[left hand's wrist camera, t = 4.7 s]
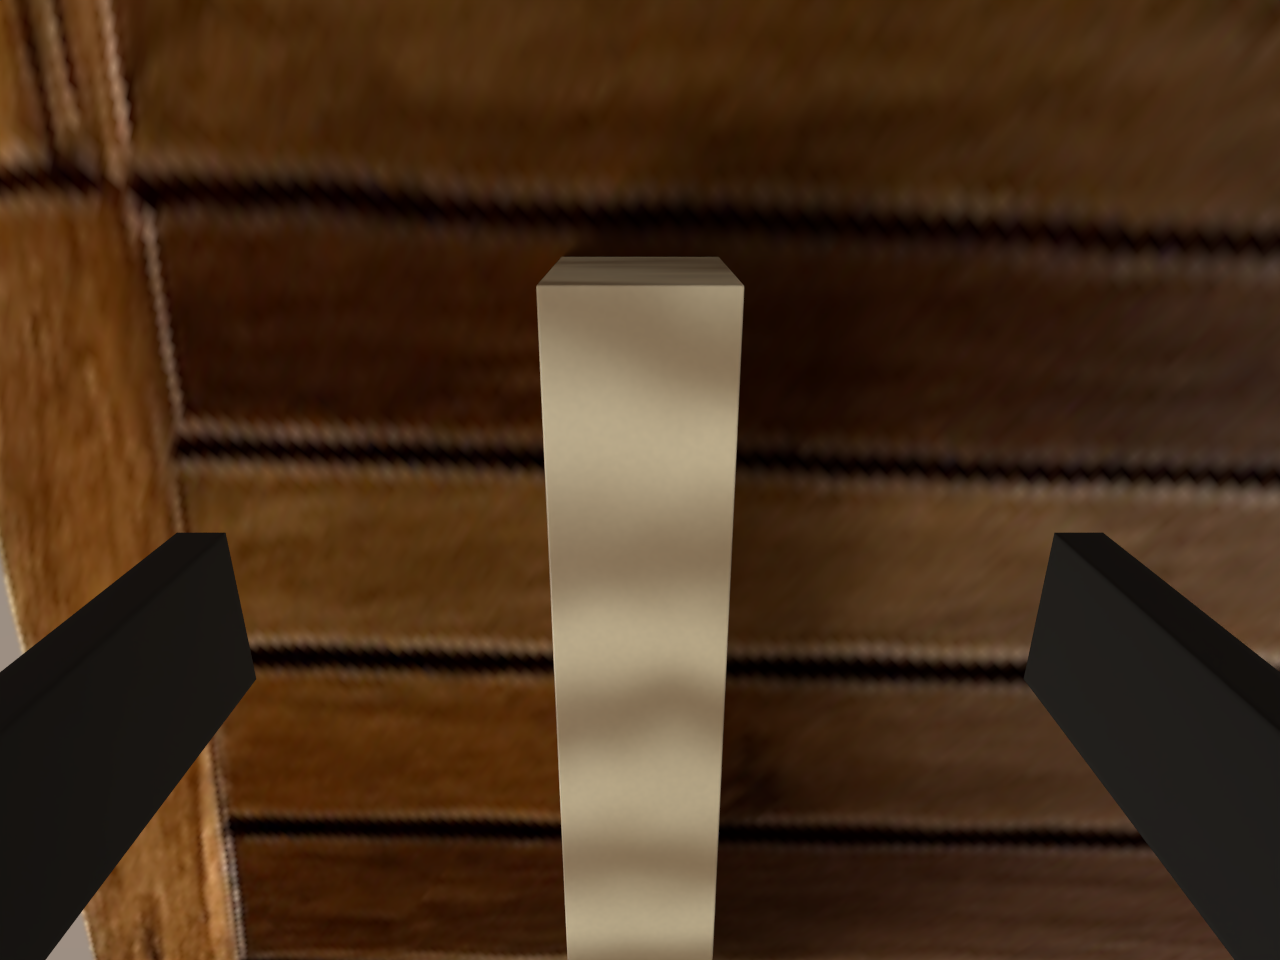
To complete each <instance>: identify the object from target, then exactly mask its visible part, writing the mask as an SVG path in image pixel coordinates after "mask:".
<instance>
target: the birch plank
mask: <svg viewBox="0 0 1280 960" xmlns="http://www.w3.org/2000/svg"><path fill="white" fill-rule="evenodd" d="M536 292H537V313H538V335H539V356H540V378H541V399H542V421H543V442H544V464H545V485H546V506H547V528H548V549H549V571H550V592H551V614H552V635H553V657H554V678H555V700H556V721H557V743H558V764H559V785H560V807H561V828H562V850H563V871H564V893H565V914H566V936H567V957H568V960H713V940H714V919H715V898H716V876H717V855H718V834H719V813H720V792H721V770H722V749H723V728H724V707H725V686H726V664H727V643H728V622H729V601H730V579H731V558H732V537H733V516H734V495H735V473H736V452H737V431H738V410H739V389H740V367H741V346H742V325H743V304H744V285H743V284H742V283H741V282H740V281H739V280H738V278H737V277H736V276H735V275H734V274H733V273H732V272H731V270H730V269H729V268H728V267H727V266H726V265H725V264H724V262H723V261H722V260H721V259H720V258H719V257H561V258H560V260H559V261H558V262H557V263H556V264H555V265H554V266H553V268H552V269H551V270H550V271H549V272H548V273H547V274H546V276H545V277H544V278H543V279H542V280H541V281H540V282H539V284H538V285H537V286H536Z"/></svg>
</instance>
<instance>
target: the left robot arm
mask: <svg viewBox="0 0 1280 960" xmlns="http://www.w3.org/2000/svg"><path fill="white" fill-rule="evenodd" d="M255 680H256V676H255V671H254V666H253V661H252V657H251V652H250V647H249V642H248V638H247V633H246V628H245V623H244V619H243V614H242V609H241V604H240V600H239V595H238V590H237V585H236V581H235V576H234V571H233V566H232V562H231V557H230V552H229V547H228V543H227V538H226V533H176V534H175V535H174V536H172V537H171V538H170V539H169V540H167V541H166V542H165V543H163V544H162V545H161V546H160V547H158V548H157V549H156V550H155V551H153V552H152V553H151V554H150V555H148V556H147V557H146V558H144V559H143V560H142V561H141V562H139V563H138V564H137V565H136V566H134V567H133V568H132V569H131V570H129V571H128V572H127V573H125V574H124V575H123V576H122V577H120V578H119V579H118V580H117V581H115V582H114V583H113V584H112V585H110V586H109V587H108V588H106V589H105V590H104V591H103V592H101V593H100V594H99V595H98V596H96V597H95V598H94V599H93V600H91V601H90V602H89V603H87V604H86V605H85V606H84V607H82V608H81V609H80V610H79V611H77V612H76V613H75V614H73V615H72V616H71V617H70V618H68V619H67V620H66V621H65V622H63V623H62V624H61V625H60V626H58V627H57V628H56V629H54V630H53V631H52V632H51V633H49V634H48V635H47V636H46V637H44V638H43V639H42V640H41V641H39V642H38V643H37V644H35V645H34V646H33V647H32V648H30V649H29V650H28V651H27V652H25V653H24V654H23V655H22V656H20V657H19V658H18V659H16V660H15V661H14V662H13V663H11V664H10V665H9V666H8V667H6V668H5V669H4V670H3V671H1V672H0V960H46V958H47V957H48V956H49V954H50V953H51V952H52V950H53V949H54V948H55V946H56V945H57V944H58V942H59V941H60V940H61V938H62V937H63V936H64V934H65V933H66V932H67V930H68V929H69V928H70V926H71V925H72V924H73V922H74V921H75V920H76V918H77V917H78V916H79V914H80V913H81V912H82V910H83V909H84V908H85V906H86V905H87V904H88V902H89V901H90V900H91V898H92V897H93V896H94V894H95V893H96V892H97V890H98V889H99V888H100V886H101V885H102V884H103V882H104V881H105V880H106V878H107V877H108V876H109V874H110V873H111V872H112V870H113V869H114V868H115V866H116V865H117V864H118V862H119V861H120V860H121V858H122V857H123V856H124V854H125V853H126V852H127V850H128V849H129V848H130V846H131V845H132V844H133V842H134V841H135V840H136V838H137V837H138V836H139V834H140V833H141V832H142V830H143V829H144V828H145V826H146V825H147V824H148V822H149V821H150V820H151V818H152V817H153V816H154V814H155V813H156V812H157V810H158V809H159V808H160V806H161V805H162V804H163V802H164V801H165V800H166V798H167V797H168V796H169V794H170V793H171V792H172V790H173V789H174V788H175V786H176V785H177V784H178V782H179V781H180V780H181V778H182V777H183V776H184V774H185V773H186V772H187V770H188V769H189V768H190V766H191V765H192V764H193V762H194V761H195V760H196V758H197V757H198V756H199V754H200V753H201V752H202V750H203V749H204V748H205V746H206V745H207V744H208V742H209V741H210V740H211V738H212V737H213V736H214V734H215V733H216V732H217V730H218V729H219V728H220V726H221V725H222V724H223V722H224V721H225V720H226V718H227V717H228V716H229V715H230V713H231V712H232V711H233V709H234V708H235V707H236V705H237V704H238V703H239V701H240V700H241V699H242V697H243V696H244V695H245V693H246V692H247V691H248V689H249V688H250V687H251V685H252V684H253V683H254V681H255ZM1024 680H1025V681H1026V683H1027V684H1028V685H1029V687H1030V688H1031V689H1032V691H1033V692H1034V693H1035V695H1036V696H1037V697H1038V699H1039V700H1040V701H1041V703H1042V704H1043V705H1044V707H1045V708H1046V709H1047V711H1048V712H1049V713H1050V715H1051V716H1052V717H1053V719H1054V720H1055V721H1056V722H1057V724H1058V725H1059V726H1060V728H1061V729H1062V730H1063V732H1064V733H1065V734H1066V736H1067V737H1068V738H1069V740H1070V741H1071V742H1072V744H1073V745H1074V746H1075V748H1076V749H1077V750H1078V752H1079V753H1080V754H1081V756H1082V757H1083V758H1084V760H1085V761H1086V762H1087V764H1088V765H1089V766H1090V768H1091V769H1092V770H1093V772H1094V773H1095V774H1096V776H1097V777H1098V778H1099V780H1100V781H1101V782H1102V784H1103V785H1104V786H1105V788H1106V789H1107V790H1108V792H1109V793H1110V794H1111V796H1112V797H1113V798H1114V800H1115V801H1116V802H1117V804H1118V805H1119V806H1120V808H1121V809H1122V810H1123V812H1124V813H1125V814H1126V816H1127V817H1128V818H1129V820H1130V821H1131V822H1132V824H1133V825H1134V826H1135V828H1136V829H1137V830H1138V832H1139V833H1140V834H1141V836H1142V837H1143V838H1144V840H1145V841H1146V842H1147V844H1148V845H1149V846H1150V848H1151V849H1152V850H1153V852H1154V853H1155V854H1156V856H1157V857H1158V858H1159V860H1160V861H1161V862H1162V864H1163V865H1164V866H1165V868H1166V869H1167V870H1168V872H1169V873H1170V874H1171V876H1172V877H1173V878H1174V880H1175V881H1176V882H1177V884H1178V885H1179V886H1180V888H1181V889H1182V890H1183V892H1184V893H1185V894H1186V896H1187V897H1188V898H1189V900H1190V901H1191V902H1192V904H1193V905H1194V906H1195V908H1196V909H1197V910H1198V912H1199V913H1200V914H1201V916H1202V917H1203V918H1204V920H1205V921H1206V922H1207V924H1208V925H1209V926H1210V928H1211V929H1212V930H1213V932H1214V933H1215V934H1216V936H1217V937H1218V938H1219V940H1220V941H1221V942H1222V944H1223V945H1224V946H1225V948H1226V949H1227V950H1228V952H1229V953H1230V954H1231V956H1232V957H1233V958H1234V960H1280V672H1279V671H1277V670H1276V669H1275V668H1274V667H1272V666H1271V665H1270V664H1269V663H1267V662H1266V661H1265V660H1264V659H1262V658H1261V657H1260V656H1258V655H1257V654H1256V653H1255V652H1253V651H1252V650H1251V649H1250V648H1248V647H1247V646H1246V645H1245V644H1243V643H1242V642H1241V641H1239V640H1238V639H1237V638H1236V637H1234V636H1233V635H1232V634H1231V633H1229V632H1228V631H1227V630H1226V629H1224V628H1223V627H1222V626H1220V625H1219V624H1218V623H1217V622H1215V621H1214V620H1213V619H1212V618H1210V617H1209V616H1208V615H1207V614H1205V613H1204V612H1203V611H1201V610H1200V609H1199V608H1198V607H1196V606H1195V605H1194V604H1193V603H1191V602H1190V601H1189V600H1187V599H1186V598H1185V597H1184V596H1182V595H1181V594H1180V593H1179V592H1177V591H1176V590H1175V589H1174V588H1172V587H1171V586H1170V585H1168V584H1167V583H1166V582H1165V581H1163V580H1162V579H1161V578H1160V577H1158V576H1157V575H1156V574H1155V573H1153V572H1152V571H1151V570H1149V569H1148V568H1147V567H1146V566H1144V565H1143V564H1142V563H1141V562H1139V561H1138V560H1137V559H1136V558H1134V557H1133V556H1132V555H1130V554H1129V553H1128V552H1127V551H1125V550H1124V549H1123V548H1122V547H1120V546H1119V545H1118V544H1117V543H1115V542H1114V541H1113V540H1111V539H1110V538H1109V537H1108V536H1106V535H1105V534H1104V533H1054V538H1053V543H1052V547H1051V552H1050V557H1049V562H1048V566H1047V571H1046V576H1045V581H1044V585H1043V590H1042V595H1041V600H1040V604H1039V609H1038V614H1037V619H1036V623H1035V628H1034V633H1033V638H1032V642H1031V647H1030V652H1029V657H1028V661H1027V666H1026V671H1025V676H1024Z"/></svg>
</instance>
